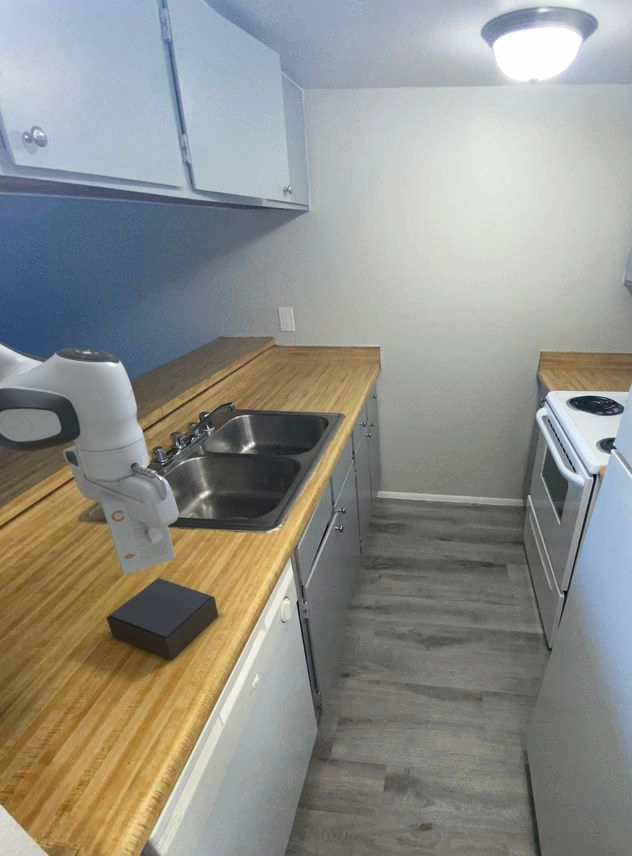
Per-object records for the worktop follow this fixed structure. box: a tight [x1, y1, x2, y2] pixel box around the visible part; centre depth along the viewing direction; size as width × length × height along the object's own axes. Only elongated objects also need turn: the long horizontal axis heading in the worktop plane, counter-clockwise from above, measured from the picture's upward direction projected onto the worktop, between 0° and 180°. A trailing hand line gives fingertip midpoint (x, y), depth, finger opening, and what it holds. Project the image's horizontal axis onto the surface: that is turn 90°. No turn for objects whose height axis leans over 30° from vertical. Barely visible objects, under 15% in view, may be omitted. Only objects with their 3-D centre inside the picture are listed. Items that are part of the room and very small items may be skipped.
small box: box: [99, 492, 176, 576], centre depth 78 cm, size 8×6×13 cm
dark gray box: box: [105, 577, 219, 662], centre depth 89 cm, size 14×12×5 cm
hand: (136, 532), depth 78 cm, fingers closed on small box, 8 cm apart
